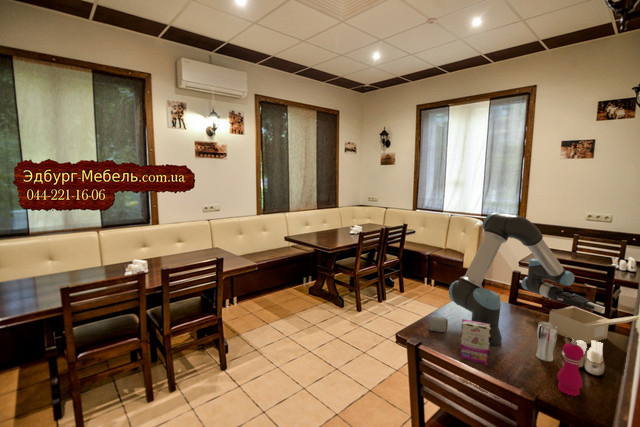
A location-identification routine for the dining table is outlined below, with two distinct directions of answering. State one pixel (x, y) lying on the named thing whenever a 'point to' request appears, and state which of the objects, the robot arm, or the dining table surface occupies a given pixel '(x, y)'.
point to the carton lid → (614, 321)
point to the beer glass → (546, 340)
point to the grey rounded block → (438, 324)
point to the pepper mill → (571, 369)
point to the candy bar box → (475, 341)
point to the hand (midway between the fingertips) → (603, 310)
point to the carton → (578, 324)
